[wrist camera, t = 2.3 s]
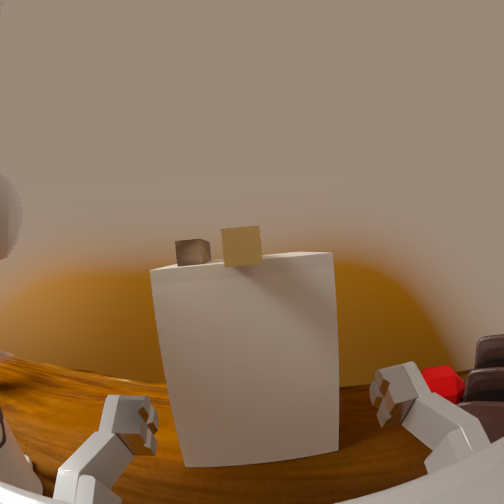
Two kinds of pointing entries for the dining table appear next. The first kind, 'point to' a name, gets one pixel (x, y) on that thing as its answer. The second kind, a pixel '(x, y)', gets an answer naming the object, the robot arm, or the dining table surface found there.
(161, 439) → the dining table surface
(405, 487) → the robot arm
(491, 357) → the letter holder
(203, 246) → the walnut bar
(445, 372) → the ball
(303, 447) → the off-white stand
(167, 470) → the dining table surface
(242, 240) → the ochre bar
